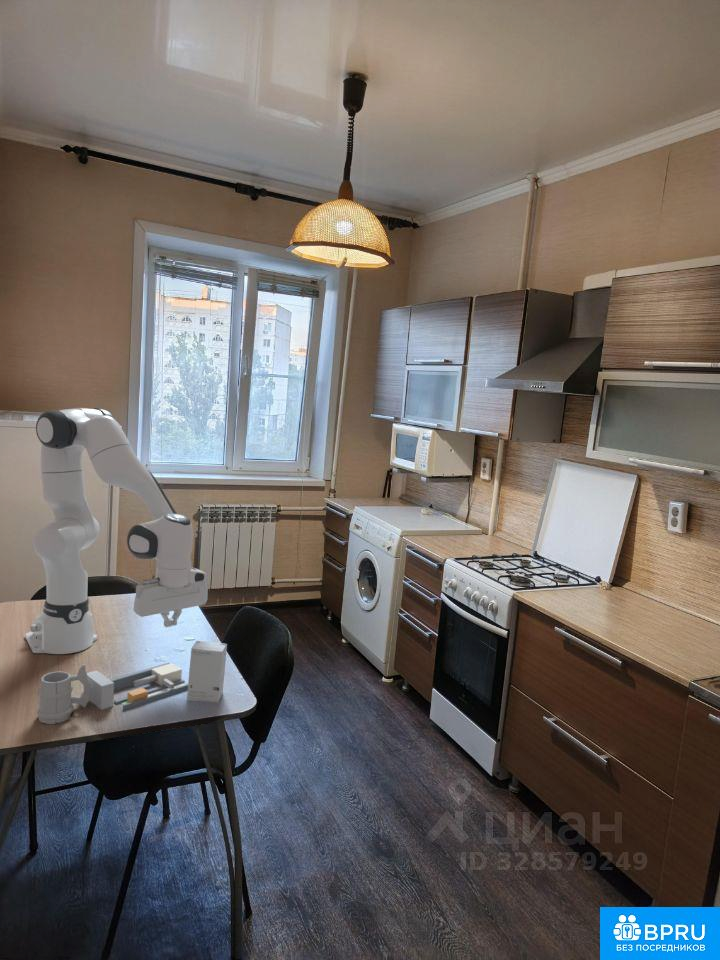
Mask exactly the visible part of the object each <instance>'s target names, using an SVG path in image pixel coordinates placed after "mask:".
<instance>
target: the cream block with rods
mask: <svg viewBox="0 0 720 960" xmlns="http://www.w3.org/2000/svg"><path fill="white" fill-rule="evenodd" d="M182 672H183V669H182V668H180V667H179V666H177V665H176V664H174V663H172V662H171V663H170V664H167V665H164V666H160V667H157V668H153V669H152V673H151V676H149V677H146V678H142V679H139V680H136V681H134V685H133V687H135V688H138V687H141V686H144V685H147V684H150V683H153V682H154V683H155V684H157V685H159V686H162V685H165V686H167V687H168V688H170V689H173V688H174V683H172V682H175V681H178V680H181V679H182V677H183V676H182V674H183V673H182Z"/></svg>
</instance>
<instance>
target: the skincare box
mask: <svg viewBox="0 0 720 960" xmlns="http://www.w3.org/2000/svg"><path fill="white" fill-rule="evenodd" d="M190 649H191V651H190V661H189V673H188V683H187V684H188V689H187V695H186V701H196V702H197V701H199V702H208V703H209V702H210V703H211V702H212V703H219V702H220V700H221V697H222V696H223V693H224V682H225V673H226V672H225V671H226V661H227V660H226V659H227V649H228V644H227V643H221V642H214V641H201V640H196V641H195V642H194V644H193V645H192V647H191V648H190Z"/></svg>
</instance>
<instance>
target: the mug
mask: <svg viewBox="0 0 720 960" xmlns="http://www.w3.org/2000/svg"><path fill="white" fill-rule="evenodd" d="M87 673H88V672H87V671H86V664H85V663H82V664H81V666H80V667H79V669H78V671H77V674H73V675H71V674H70V673H69V672H67V671H60V670H58V671H52V672H48V673H46V674H43V676H41V678H40V685H39V687H40V688H38V689H39V690H38V693H37V694H38V695H39V701H38V703H39V706H38V708H37V710H36V714H37V717H38V721H39V723H43V724H47V725H55V724H60V723H63V722H66V721H67V720H69V719H70V718H71V717H72V712H73V711H74V705H73V704H76V705H80V706H81V707H82V708H86V707H87V705H88V703H90V702H91V701H90V699H91V692H92V686H91V683H90V680H89V678H88V676H87ZM74 681H79V682H80V683H81V684H82V685H83V692H82V693H81V695H80V696H78V695H72V691H73V690H74V688H73V685H72V682H74Z"/></svg>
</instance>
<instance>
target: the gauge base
mask: <svg viewBox="0 0 720 960" xmlns="http://www.w3.org/2000/svg"><path fill="white" fill-rule="evenodd" d="M167 664H171V663H170V662H166V663H163V664H160V665H156V666H152V667H149V668H145V669H142V670H137V671H135V672H131V673H127V674H124V675H120V676H118V677H113V678H108V677H106V676H105V675H104V674H103V673H101V672H100V671H98V670H97V669H96V670H93V671H90V672H87V676H88V678H89V680H90V683H91V686H92V692H91V699H90V701H89V702H90V703H92V704H93V705H95V706H96V707H97V708H98V709H99V710H101V711H103V710H105V709H109V708H111V707H114V703H115V704H116V705H118V704H121V705H122V710H123V711H126V710H130V709H131V708H135V707H138V706H141V705H144V704H148V703H149V702H150V703H151V702H153V701H157V700H159V699H162V698H166V697H169V696H170V695H171V696H172V695H174V694H178V693H181V692H184V691H188V683H186V684H185V682H186V681H185V680H184V679H183V678H181V680H178V681H175V682H172V683H174V688H173V689H170V688H168V687H167V686H165V685H162V686H160V685H159V686H155V687H153V688H149V689H146V690H147V691H148V697H145V698H142V699H139V700H136V701H133V702H130V703H129V702H128V701H127V696H124V697H120V698H117V699H114V695H115V693H114V692H115V691H117V690H120V689H124V688H128V687H132V686H134V681H136V680H139V679H142V678H146V677H149V676H151V673H152V669H153V668H157V667H160V666H164V665H167Z"/></svg>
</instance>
